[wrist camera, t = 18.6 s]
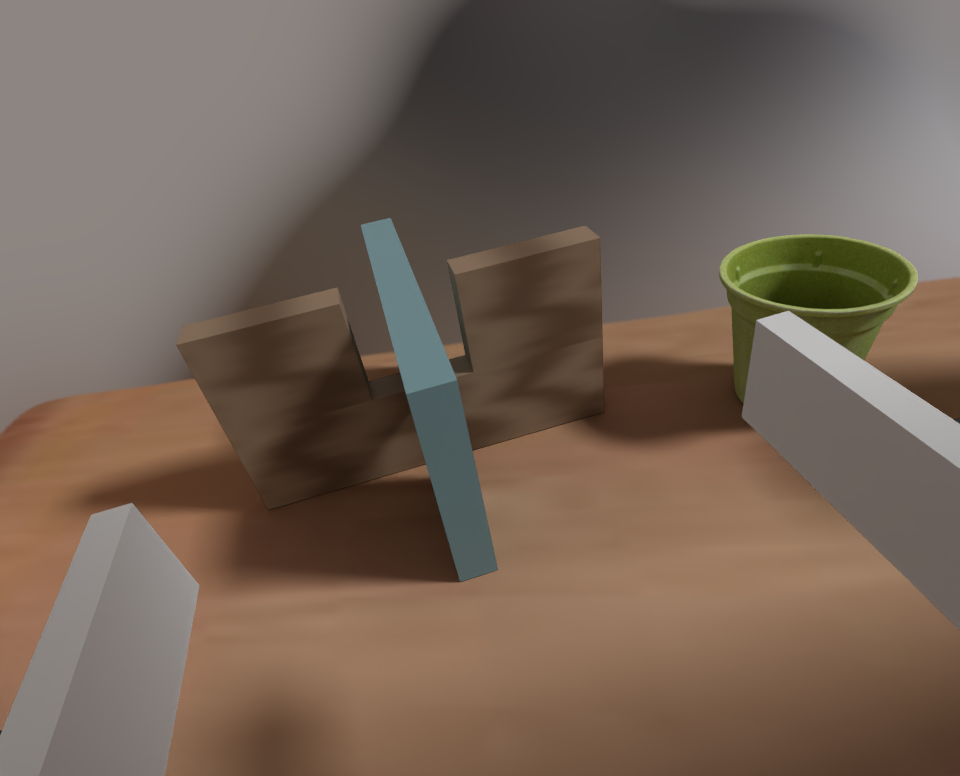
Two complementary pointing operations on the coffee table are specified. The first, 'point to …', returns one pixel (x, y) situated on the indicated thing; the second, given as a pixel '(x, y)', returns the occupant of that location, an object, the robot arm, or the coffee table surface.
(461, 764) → the coffee table surface
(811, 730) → the coffee table surface
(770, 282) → the plant pot
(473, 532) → the slotted plate
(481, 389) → the walnut board
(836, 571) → the coffee table surface
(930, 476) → the robot arm
